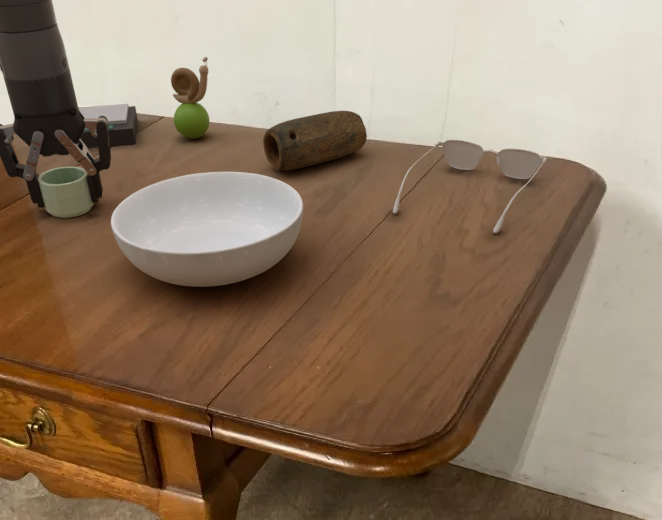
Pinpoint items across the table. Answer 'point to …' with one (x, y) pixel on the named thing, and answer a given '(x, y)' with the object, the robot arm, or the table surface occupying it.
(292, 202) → the serving bowl
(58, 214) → the dip bowl
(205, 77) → the snail figurine
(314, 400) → the table surface
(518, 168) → the eyeglasses
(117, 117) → the scale
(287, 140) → the hollow wooden cylinder
